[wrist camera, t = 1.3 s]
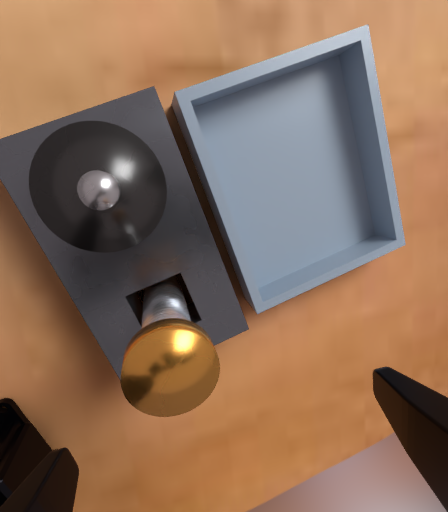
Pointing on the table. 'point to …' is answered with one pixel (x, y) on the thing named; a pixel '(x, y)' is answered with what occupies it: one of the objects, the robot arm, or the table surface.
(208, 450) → the table surface
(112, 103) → the grey holder base
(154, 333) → the lock pin
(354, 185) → the tray
